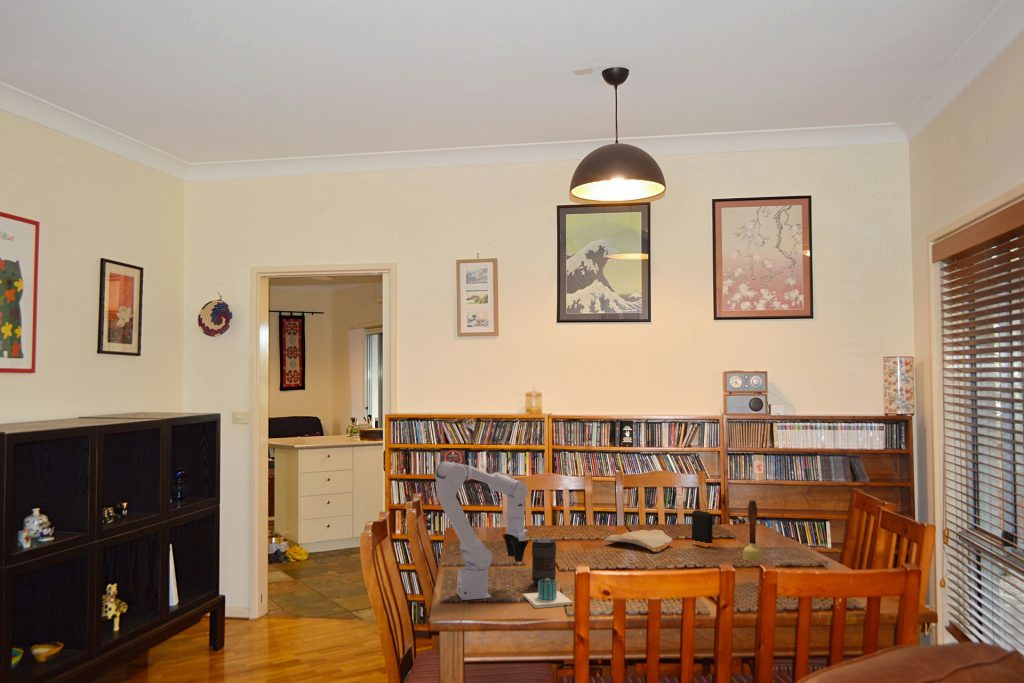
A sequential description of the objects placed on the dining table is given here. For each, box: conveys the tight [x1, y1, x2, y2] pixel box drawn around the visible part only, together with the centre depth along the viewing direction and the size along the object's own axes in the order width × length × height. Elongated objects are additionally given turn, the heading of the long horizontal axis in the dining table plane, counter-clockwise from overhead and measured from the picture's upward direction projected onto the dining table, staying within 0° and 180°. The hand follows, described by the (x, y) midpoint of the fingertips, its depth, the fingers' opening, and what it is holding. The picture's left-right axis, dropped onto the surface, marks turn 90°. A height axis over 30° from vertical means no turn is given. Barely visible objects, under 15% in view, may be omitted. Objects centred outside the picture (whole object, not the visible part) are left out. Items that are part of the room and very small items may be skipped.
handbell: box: [742, 499, 763, 561], centre depth 277 cm, size 12×12×25 cm
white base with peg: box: [522, 578, 574, 609], centre depth 232 cm, size 12×12×7 cm
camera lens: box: [531, 537, 557, 588], centre depth 250 cm, size 8×8×15 cm
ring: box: [537, 579, 558, 600], centre depth 232 cm, size 6×6×5 cm
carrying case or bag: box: [691, 509, 715, 544], centre depth 312 cm, size 11×3×15 cm, turn 41°
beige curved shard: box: [603, 529, 674, 548], centre depth 311 cm, size 24×8×20 cm
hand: (514, 558), depth 244 cm, fingers open, 7 cm apart
